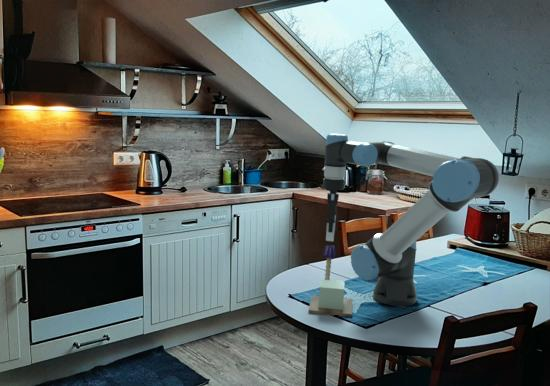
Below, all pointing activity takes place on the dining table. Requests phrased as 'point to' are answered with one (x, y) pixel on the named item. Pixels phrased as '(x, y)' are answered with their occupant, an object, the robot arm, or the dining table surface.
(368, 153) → the robot arm
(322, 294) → the sage block
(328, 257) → the toy lamp
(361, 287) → the dining table surface
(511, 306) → the dining table surface
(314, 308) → the walnut board
